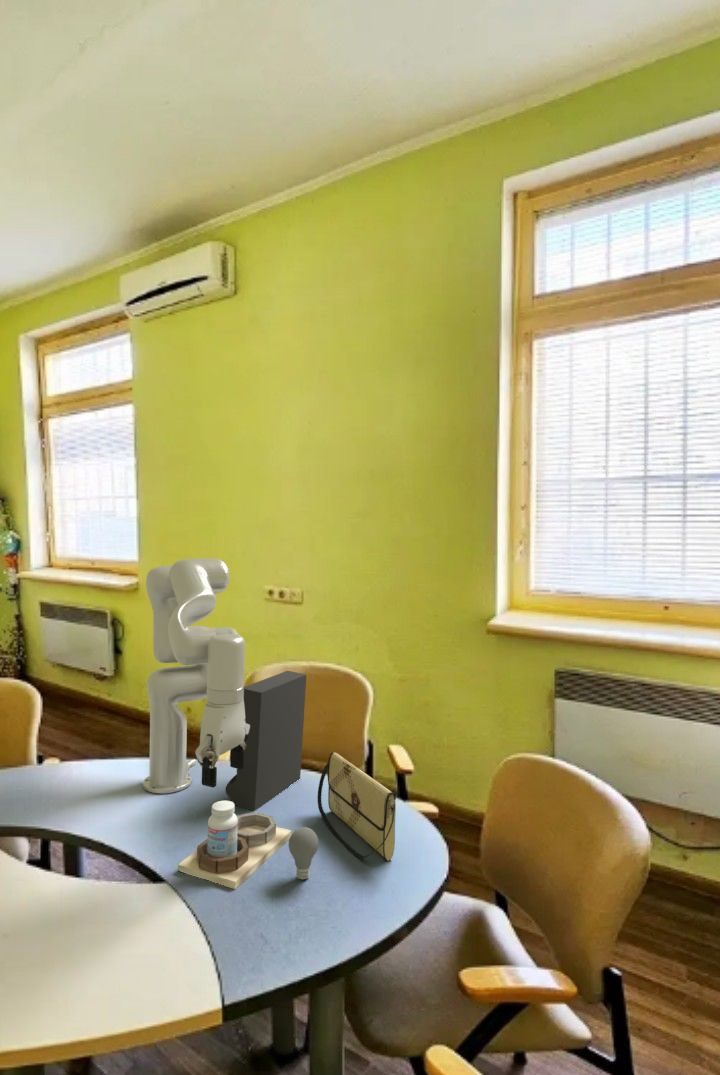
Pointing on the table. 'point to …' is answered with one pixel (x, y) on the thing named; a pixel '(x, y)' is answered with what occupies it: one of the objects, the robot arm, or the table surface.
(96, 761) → the table surface
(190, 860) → the holder board
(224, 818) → the pill bottle
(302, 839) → the light bulb
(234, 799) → the dark gray upright block
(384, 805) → the clutch purse
